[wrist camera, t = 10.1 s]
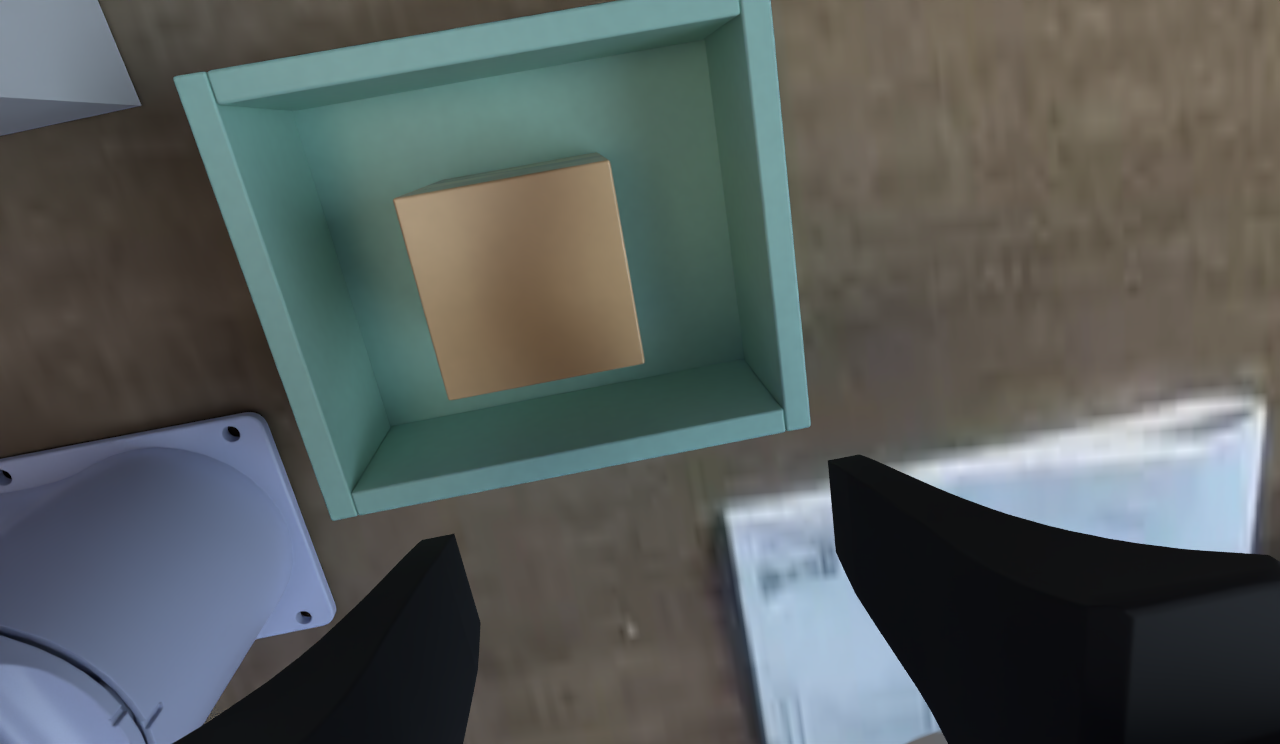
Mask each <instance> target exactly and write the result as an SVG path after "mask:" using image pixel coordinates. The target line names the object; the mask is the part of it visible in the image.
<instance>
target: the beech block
mask: <svg viewBox="0 0 1280 744" xmlns="http://www.w3.org/2000/svg"><path fill="white" fill-rule="evenodd" d="M393 203H394V207H395V210H396V214H397V217H398V221H399V225H400V228H401V232H402V235H403V239H404V243H405V246H406V250H407V253H408V257H409V261H410V264H411V268H412V271H413V275H414V279H415V282H416V286H417V289H418V293H419V297H420V300H421V304H422V307H423V311H424V314H425V318H426V322H427V325H428V329H429V332H430V336H431V340H432V343H433V347H434V350H435V354H436V358H437V361H438V365H439V368H440V372H441V376H442V379H443V383H444V386H445V390H446V394H447V397H448V399H449V400H457V399H462V398H467V397H472V396H478V395H483V394H488V393H493V392H498V391H504V390H509V389H514V388H519V387H525V386H530V385H535V384H540V383H546V382H551V381H556V380H561V379H567V378H572V377H577V376H582V375H588V374H593V373H598V372H603V371H608V370H614V369H619V368H624V367H629V366H635V365H640V364H644V363H645V358H644V352H643V346H642V341H641V335H640V329H639V324H638V318H637V312H636V306H635V301H634V295H633V289H632V283H631V278H630V272H629V266H628V260H627V255H626V249H625V243H624V238H623V232H622V226H621V220H620V215H619V209H618V203H617V197H616V192H615V186H614V180H613V174H612V169H611V163H610V161H609V160H608V159H606V158H605V157H603V156H602V155H600V154H599V153H597V152H595V153H590V154H584V155H578V156H573V157H567V158H562V159H556V160H551V161H545V162H539V163H534V164H528V165H523V166H517V167H511V168H506V169H500V170H495V171H489V172H484V173H478V174H472V175H467V176H461V177H456V178H450V179H444V180H441V181H438V182H435V183H433V184H430V185H428V186H425V187H422V188H420V189H417V190H414V191H412V192H409V193H407V194H404V195H401V196H399V197H396V198H394V199H393Z"/></svg>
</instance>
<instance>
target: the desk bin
mask: <svg viewBox="0 0 1280 744" xmlns="http://www.w3.org/2000/svg"><path fill="white" fill-rule="evenodd" d="M173 80H174V83H175V85H176V88H177V91H178V94H179V97H180V99H181V102H182V105H183V108H184V110H185V113H186V116H187V119H188V122H189V124H190V127H191V130H192V133H193V136H194V138H195V141H196V144H197V147H198V149H199V152H200V155H201V158H202V161H203V163H204V166H205V169H206V172H207V174H208V177H209V180H210V183H211V186H212V188H213V191H214V194H215V197H216V200H217V202H218V205H219V208H220V211H221V213H222V216H223V219H224V222H225V225H226V227H227V230H228V233H229V236H230V239H231V241H232V244H233V247H234V250H235V252H236V255H237V258H238V261H239V264H240V266H241V269H242V272H243V275H244V277H245V280H246V283H247V286H248V289H249V291H250V294H251V297H252V300H253V303H254V305H255V308H256V311H257V314H258V316H259V319H260V322H261V325H262V328H263V330H264V333H265V336H266V339H267V341H268V344H269V347H270V350H271V353H272V355H273V358H274V361H275V364H276V367H277V369H278V372H279V375H280V378H281V380H282V383H283V386H284V389H285V392H286V394H287V397H288V400H289V403H290V406H291V408H292V411H293V414H294V417H295V419H296V422H297V425H298V428H299V431H300V433H301V436H302V439H303V442H304V444H305V447H306V450H307V453H308V456H309V458H310V461H311V464H312V467H313V470H314V472H315V475H316V478H317V481H318V483H319V486H320V489H321V492H322V495H323V497H324V500H325V503H326V506H327V509H328V511H329V514H330V517H331V519H332V520H333V521H334V520H339V519H344V518H349V517H355V516H357V515H358V514H359V515H364V514H369V513H374V512H379V511H385V510H390V509H395V508H400V507H405V506H410V505H415V504H420V503H425V502H430V501H436V500H441V499H446V498H451V497H456V496H461V495H466V494H471V493H476V492H481V491H487V490H492V489H497V488H502V487H507V486H512V485H517V484H522V483H527V482H532V481H538V480H543V479H548V478H553V477H558V476H563V475H568V474H573V473H578V472H583V471H589V470H594V469H599V468H604V467H609V466H614V465H619V464H624V463H629V462H634V461H640V460H645V459H650V458H655V457H660V456H665V455H670V454H675V453H680V452H685V451H691V450H696V449H701V448H706V447H711V446H716V445H721V444H726V443H731V442H736V441H742V440H747V439H752V438H757V437H762V436H767V435H772V434H777V433H782V432H785V429H786V430H787V431H792V430H797V429H802V428H807V427H810V425H811V421H810V411H809V400H808V390H807V379H806V368H805V358H804V347H803V337H802V326H801V316H800V305H799V294H798V284H797V273H796V263H795V252H794V242H793V231H792V220H791V210H790V199H789V189H788V178H787V168H786V157H785V146H784V136H783V125H782V115H781V104H780V94H779V83H778V72H777V62H776V51H775V41H774V30H773V20H772V9H771V0H618V1H612V2H606V3H600V4H594V5H588V6H583V7H577V8H571V9H565V10H559V11H553V12H548V13H542V14H536V15H530V16H524V17H518V18H513V19H507V20H501V21H495V22H489V23H483V24H478V25H472V26H466V27H460V28H454V29H448V30H442V31H437V32H431V33H425V34H419V35H413V36H407V37H402V38H396V39H390V40H384V41H378V42H372V43H367V44H361V45H355V46H349V47H343V48H337V49H332V50H326V51H320V52H314V53H308V54H302V55H296V56H291V57H285V58H279V59H273V60H267V61H261V62H256V63H250V64H244V65H238V66H232V67H226V68H221V69H215V70H210V71H209V72H203V71H202V72H196V73H191V74H185V75H179V76H175V77H174V78H173ZM595 152H597V153H599V154H600V155H602V156H603V157H605V158H606V159H608V160H609V161H610V163H611V169H612V174H613V180H614V186H615V192H616V197H617V203H618V209H619V215H620V220H621V226H622V232H623V238H624V243H625V249H626V255H627V260H628V266H629V272H630V278H631V283H632V289H633V295H634V301H635V306H636V312H637V318H638V324H639V329H640V335H641V341H642V346H643V352H644V358H645V363H644V364H640V365H635V366H629V367H624V368H619V369H614V370H608V371H603V372H598V373H593V374H588V375H582V376H577V377H572V378H567V379H561V380H556V381H551V382H546V383H540V384H535V385H530V386H525V387H519V388H514V389H509V390H504V391H498V392H493V393H488V394H483V395H478V396H472V397H467V398H462V399H457V400H449V399H448V397H447V394H446V390H445V386H444V383H443V379H442V376H441V372H440V368H439V365H438V361H437V358H436V354H435V350H434V347H433V343H432V340H431V336H430V332H429V329H428V325H427V322H426V318H425V314H424V311H423V307H422V304H421V300H420V297H419V293H418V289H417V286H416V282H415V279H414V275H413V271H412V268H411V264H410V261H409V257H408V253H407V250H406V246H405V243H404V239H403V235H402V232H401V228H400V225H399V221H398V217H397V214H396V210H395V207H394V203H393V199H394V198H396V197H399V196H401V195H404V194H407V193H409V192H412V191H414V190H417V189H420V188H422V187H425V186H428V185H430V184H433V183H435V182H438V181H441V180H444V179H450V178H456V177H461V176H467V175H472V174H478V173H484V172H489V171H495V170H500V169H506V168H511V167H517V166H523V165H528V164H534V163H539V162H545V161H551V160H556V159H562V158H567V157H573V156H578V155H584V154H590V153H595Z"/></svg>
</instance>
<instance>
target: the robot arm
mask: <svg viewBox="0 0 1280 744" xmlns="http://www.w3.org/2000/svg"><path fill="white" fill-rule="evenodd" d="M228 426H233V427H235V428H237V429H238V431H239V432H240V437H235V436H233V435H231V434H230V433H229V431H228ZM828 467H829V478H830V490H831V501H832V513H833V524H834V536H835V547H836V553H837V555H838V557H839V560H840V562H841V564H842V566H843V568H844V571H845V573H846V575H847V577H848V579H849V581H850V583H851V585H852V587H853V589H854V591H855V593H856V595H857V597H858V598H859V600H860V602H861V603H862V605H863V606H864V608H865V609H866V611H867V612H868V614H869V616H870V617H871V619H872V620H873V622H874V623H875V625H876V626H877V628H878V629H879V631H880V632H881V634H882V635H883V637H884V638H885V640H886V641H887V643H888V644H889V646H890V647H891V649H892V650H893V652H894V653H895V655H896V656H897V658H898V660H899V661H900V663H901V664H902V666H903V667H904V669H905V670H906V672H907V673H908V675H909V676H910V678H911V679H912V681H913V682H914V684H915V685H916V687H917V688H918V690H919V692H920V693H921V695H922V697H923V698H924V700H925V702H926V703H927V705H928V707H929V708H930V710H931V712H932V714H933V715H934V717H935V719H936V721H937V723H938V725H939V727H940V729H941V731H942V733H943V735H944V736H945V738H946V740H947V742H948V744H1280V562H1279V561H1278V560H1276V559H1274V558H1273V557H1271V556H1269V555H1260V554H1245V553H1230V552H1215V551H1200V550H1187V549H1178V548H1170V547H1162V546H1154V545H1146V544H1138V543H1132V542H1126V541H1120V540H1113V539H1108V538H1103V537H1098V536H1093V535H1088V534H1083V533H1078V532H1073V531H1068V530H1064V529H1060V528H1056V527H1051V526H1047V525H1044V524H1040V523H1036V522H1033V521H1029V520H1026V519H1022V518H1019V517H1015V516H1012V515H1008V514H1005V513H1002V512H999V511H996V510H993V509H990V508H988V507H985V506H982V505H979V504H977V503H974V502H971V501H968V500H966V499H963V498H960V497H958V496H955V495H953V494H950V493H948V492H945V491H943V490H941V489H938V488H936V487H934V486H931V485H929V484H927V483H924V482H922V481H920V480H918V479H915V478H913V477H911V476H909V475H906V474H904V473H902V472H900V471H897V470H895V469H893V468H891V467H889V466H886V465H884V464H882V463H880V462H877V461H875V460H873V459H870V458H868V457H865V456H862V455H855V456H849V457H844V458H839V459H834V460H829V461H828ZM2 470H4V471H6V472H8V473H9V474H10V475H11V478H12V479H9V478H7V477H6V476H5V475H4V474H3V471H2ZM301 611H306V612H308V613H309V614H310V615H311V617H306V616H304V615H302V614H301V613H300V612H301ZM335 613H336V605H335V602H334V599H333V597H332V594H331V591H330V589H329V586H328V583H327V581H326V578H325V575H324V572H323V570H322V567H321V564H320V562H319V559H318V556H317V554H316V551H315V548H314V546H313V543H312V540H311V538H310V535H309V532H308V530H307V527H306V524H305V522H304V519H303V516H302V514H301V511H300V508H299V506H298V503H297V500H296V498H295V495H294V492H293V490H292V487H291V484H290V482H289V479H288V476H287V474H286V471H285V468H284V466H283V463H282V460H281V458H280V455H279V452H278V450H277V447H276V444H275V442H274V439H273V436H272V434H271V431H270V428H269V426H268V423H267V422H266V420H265V418H263V417H262V416H261V415H260V414H257V413H254V412H245V413H240V414H234V415H229V416H224V417H218V418H213V419H208V420H203V421H197V422H192V423H187V424H182V425H176V426H171V427H166V428H160V429H155V430H150V431H145V432H139V433H134V434H129V435H123V436H118V437H113V438H108V439H102V440H97V441H92V442H87V443H81V444H76V445H71V446H65V447H60V448H55V449H50V450H44V451H39V452H34V453H28V454H23V455H18V456H13V457H7V458H2V459H0V744H463V741H464V736H465V731H466V726H467V722H468V717H469V712H470V707H471V702H472V697H473V692H474V687H475V682H476V677H477V671H478V658H479V642H480V620H479V616H478V613H477V609H476V606H475V603H474V599H473V596H472V592H471V589H470V586H469V582H468V579H467V576H466V572H465V569H464V565H463V562H462V559H461V555H460V552H459V548H458V545H457V542H456V538H455V535H454V534H451V535H446V536H440V537H435V538H430V539H425V540H422V541H421V542H419V543H418V544H417V545H416V546H415V547H414V548H413V549H412V550H411V551H410V552H409V553H408V554H407V555H406V556H405V557H404V558H403V559H402V560H401V561H400V562H399V563H398V564H397V565H396V566H395V567H394V568H393V569H392V570H391V571H390V572H389V573H388V574H387V575H386V576H385V577H384V578H383V579H382V580H381V581H380V583H379V584H378V585H377V586H376V587H375V588H374V589H373V590H372V591H371V592H370V593H369V594H368V595H367V596H366V597H365V598H364V599H363V600H362V601H361V602H360V603H359V604H358V605H357V606H356V607H355V608H354V609H352V610H351V611H350V612H349V613H348V614H347V615H346V616H345V617H344V618H343V619H342V620H341V621H340V622H339V623H337V624H336V625H335V626H334V627H333V628H332V629H331V630H330V631H329V632H328V633H327V634H326V635H325V636H324V637H323V638H321V639H320V640H319V641H318V642H317V643H316V644H314V645H313V646H312V647H311V648H310V649H309V650H307V651H306V652H305V653H304V654H303V655H301V656H300V657H299V658H298V659H296V660H295V661H294V662H293V663H291V664H290V665H289V666H287V667H286V668H285V669H284V670H282V671H281V672H280V673H278V674H277V675H276V676H275V677H273V678H272V679H271V680H269V681H268V682H267V683H265V684H264V685H262V686H261V687H259V688H258V689H256V690H255V691H253V692H252V693H251V694H249V695H248V696H246V697H245V698H243V699H242V700H240V701H239V702H237V703H236V704H234V705H233V706H231V707H230V708H229V709H227V710H226V711H224V712H223V713H221V714H220V715H218V716H217V717H215V718H214V719H212V720H210V721H209V722H207V723H206V724H204V722H205V721H206V719H207V717H208V716H209V714H210V712H211V711H212V709H213V708H214V706H215V704H216V703H217V701H218V699H219V698H220V696H221V695H222V693H223V691H224V690H225V688H226V686H227V685H228V683H229V682H230V680H231V678H232V677H233V675H234V673H235V672H236V670H237V669H238V667H239V665H240V664H241V662H242V660H243V659H244V657H245V656H246V654H247V652H248V651H249V649H250V647H251V646H252V644H253V643H254V641H255V639H260V638H265V637H270V636H275V635H280V634H285V633H289V632H294V631H299V630H304V629H309V628H314V627H319V626H324V625H326V624H329V623H330V622H331V621H332V619H333V617H334V615H335ZM203 724H204V725H203Z"/></svg>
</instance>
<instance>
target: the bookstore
mask: <svg viewBox="0 0 1280 744" xmlns="http://www.w3.org/2000/svg"><path fill="white" fill-rule="evenodd" d="M138 106H141V103H140V101H139V98H138V96H137V93H136V91H135V89H134V86H133V84H132V81H131V79H130V77H129V74H128V72H127V69H126V67H125V65H124V62H123V60H122V57H121V55H120V53H119V50H118V48H117V45H116V43H115V41H114V38H113V36H112V33H111V31H110V29H109V26H108V24H107V21H106V19H105V17H104V14H103V12H102V9H101V7H100V5H99V2H98V0H0V136H3V135H8V134H12V133H17V132H21V131H26V130H31V129H35V128H40V127H45V126H49V125H54V124H59V123H63V122H68V121H73V120H77V119H82V118H87V117H91V116H96V115H101V114H105V113H110V112H115V111H119V110H124V109H128V108H133V107H138Z"/></svg>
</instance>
